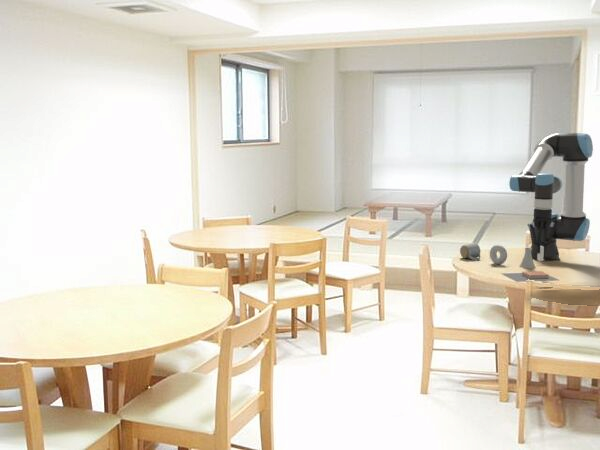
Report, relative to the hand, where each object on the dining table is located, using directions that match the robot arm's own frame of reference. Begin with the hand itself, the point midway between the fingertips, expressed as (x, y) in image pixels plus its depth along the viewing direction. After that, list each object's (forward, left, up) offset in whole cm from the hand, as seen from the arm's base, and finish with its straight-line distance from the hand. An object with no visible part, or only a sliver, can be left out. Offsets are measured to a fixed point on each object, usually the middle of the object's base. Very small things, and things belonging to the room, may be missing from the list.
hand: (540, 260), depth 289 cm
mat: (+4, 0, -8) cm, 9 cm away
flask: (-5, -20, -9) cm, 22 cm away
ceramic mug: (+12, -47, -9) cm, 50 cm away
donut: (+5, -31, -9) cm, 33 cm away
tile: (-3, 0, -7) cm, 7 cm away
